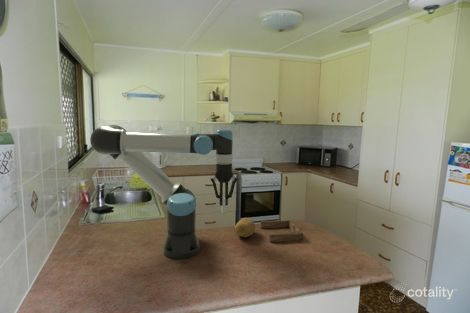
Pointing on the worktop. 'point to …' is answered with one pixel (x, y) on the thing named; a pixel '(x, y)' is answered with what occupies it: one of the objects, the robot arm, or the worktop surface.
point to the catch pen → (294, 236)
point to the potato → (245, 227)
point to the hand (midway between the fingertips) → (223, 211)
